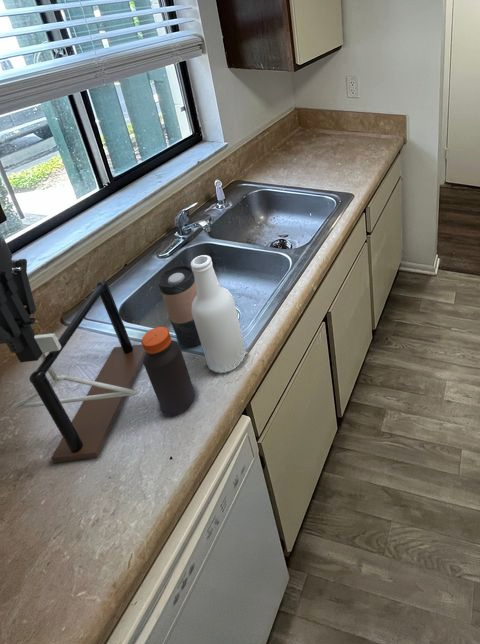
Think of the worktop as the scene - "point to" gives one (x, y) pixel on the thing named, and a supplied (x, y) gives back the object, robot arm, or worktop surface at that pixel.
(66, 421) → the rail
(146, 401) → the worktop surface
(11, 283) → the robot arm
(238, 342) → the alcohol
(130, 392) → the hanger
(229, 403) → the worktop surface
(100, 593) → the worktop surface
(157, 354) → the bottle
